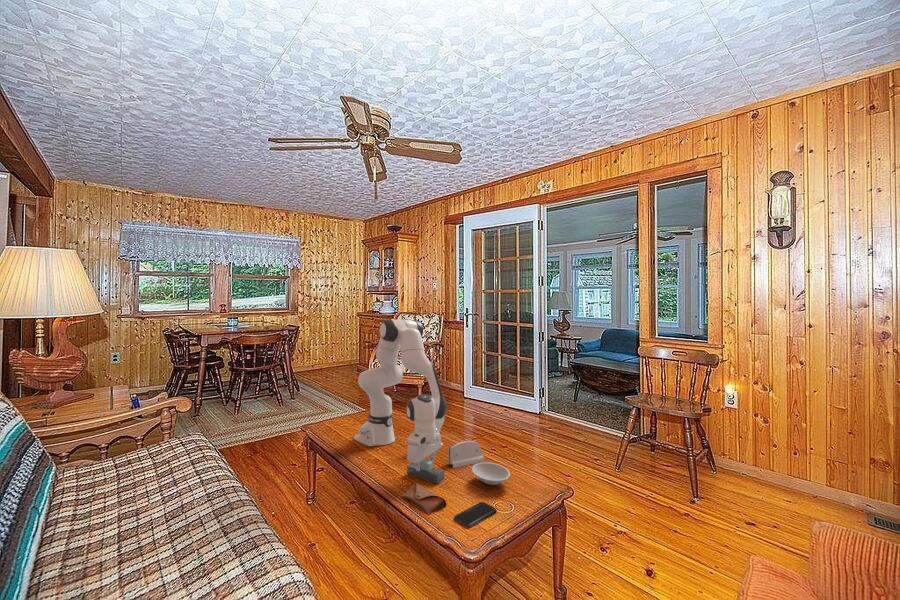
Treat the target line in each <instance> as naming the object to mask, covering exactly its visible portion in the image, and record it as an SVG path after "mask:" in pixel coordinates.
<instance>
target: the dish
mask: <svg viewBox="0 0 900 600" xmlns="http://www.w3.org/2000/svg"><path fill="white" fill-rule="evenodd" d="M471 471H472V473H473V474H474V475H475V476H476V477H477V479H479V481H480V482H482V483H485V484H487V485H490V486H494V485H495V486H497V485H501V484H502V483H504V482H505V481H507V480H508V479H509V478H510V476H511V472H510V470H509V469H508V468H507V467H505V466H503V465H502V464H499V463H494V462H487V461H486V462H480V463H475V464H474V465H473V466H472V467H471Z"/></svg>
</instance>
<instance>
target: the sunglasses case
mask: <svg viewBox="0 0 900 600" xmlns="http://www.w3.org/2000/svg"><path fill="white" fill-rule="evenodd" d="M400 497H401V498H402V499H404V500H406V501H407V502H410V503H411V504H413V505H415V506H416V507H417V508H419V509H420V510H422V511H423V512H424V513H426V514H428V515H432V514H434V513H435V512H438V511H439V510H442V509H444V508H446V507H447V501H446V500H445V499H444V498H443V497H441V496H440V495H437V494H436V493H434V492H432V491H431V490H429V489H427V488H426V487H424V486H422V485H420V484H418V483H417V482H414V484H412V486H411V487H410V488H409V489H408V490H406V491H405V492H404V494H403V495H401V496H400Z"/></svg>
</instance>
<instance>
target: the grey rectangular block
mask: <svg viewBox="0 0 900 600" xmlns="http://www.w3.org/2000/svg"><path fill="white" fill-rule="evenodd" d="M406 475H408V476H411V477H414V478H416V479H417V478H418V479H420V480H424V481H426V482H429V483H434V484H437V485H438V484H440V483H441V482H442V481H444V480H445V470H442V469H439V468H436V467H433V469H432V470H431V471H430V472H428V471H426V470H423V469H422V470H420V471H416V466H415V464H413V463H410V464H408V465H407V466H406Z"/></svg>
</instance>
